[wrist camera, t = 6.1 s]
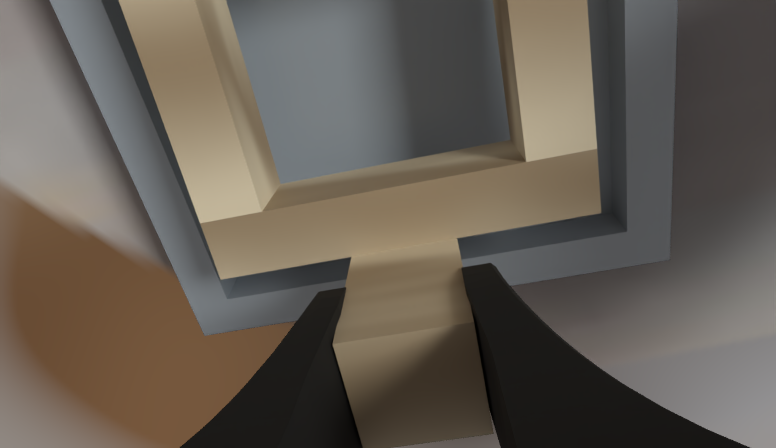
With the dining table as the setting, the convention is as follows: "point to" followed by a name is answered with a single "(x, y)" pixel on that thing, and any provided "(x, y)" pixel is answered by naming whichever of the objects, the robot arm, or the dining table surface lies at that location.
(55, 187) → the dining table surface
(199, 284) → the slate tray
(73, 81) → the dining table surface
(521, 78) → the tan frame with tab
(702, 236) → the dining table surface
